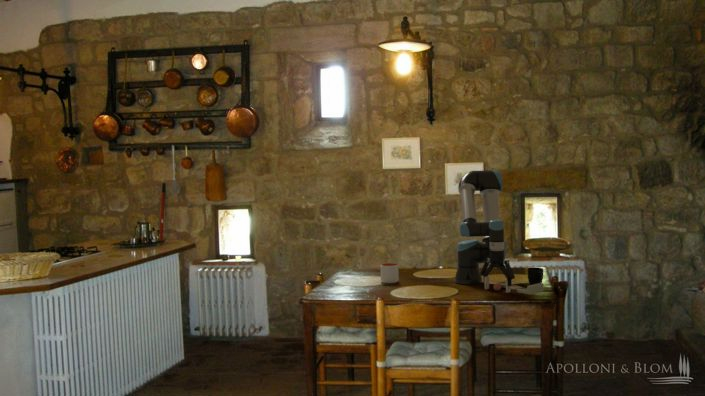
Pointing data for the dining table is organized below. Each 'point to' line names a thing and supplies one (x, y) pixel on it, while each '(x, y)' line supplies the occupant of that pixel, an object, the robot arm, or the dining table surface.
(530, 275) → the mug
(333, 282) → the dining table surface
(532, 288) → the stop block
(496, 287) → the ball
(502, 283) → the ramp
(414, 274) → the dining table surface
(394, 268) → the cup
